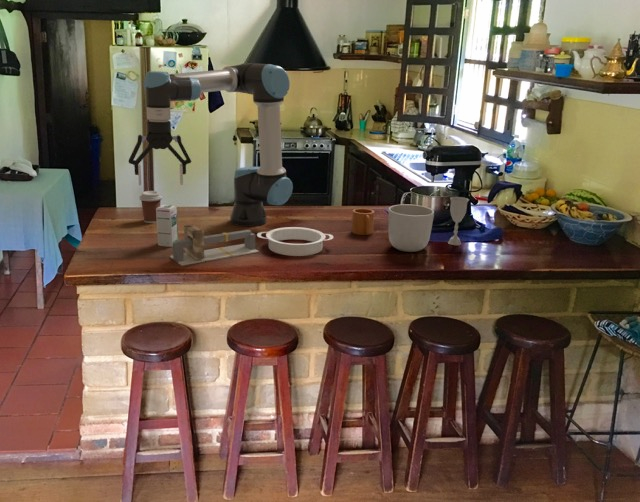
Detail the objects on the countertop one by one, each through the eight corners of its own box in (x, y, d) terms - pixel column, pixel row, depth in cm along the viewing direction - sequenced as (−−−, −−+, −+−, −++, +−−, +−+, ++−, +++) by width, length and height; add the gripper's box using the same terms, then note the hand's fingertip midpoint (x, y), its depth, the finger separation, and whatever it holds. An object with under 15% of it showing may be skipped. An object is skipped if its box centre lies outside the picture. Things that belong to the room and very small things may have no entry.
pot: (254, 256, 231) (254, 243, 230) (259, 237, 252) (259, 225, 251) (334, 258, 232) (334, 246, 230) (332, 240, 253) (332, 228, 252)
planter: (439, 250, 245) (443, 211, 240) (409, 258, 234) (413, 218, 229) (406, 239, 257) (409, 202, 252) (376, 246, 246) (379, 208, 241)
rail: (245, 244, 242) (245, 226, 240) (258, 252, 234) (259, 233, 232) (170, 257, 226) (169, 237, 223) (181, 265, 218) (180, 245, 216)
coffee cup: (161, 217, 273) (159, 189, 269) (165, 223, 265) (164, 194, 261) (138, 218, 269) (137, 190, 266) (142, 224, 262) (141, 196, 258)
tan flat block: (192, 250, 230) (192, 224, 227) (204, 258, 222) (203, 231, 219) (184, 251, 228) (184, 225, 225) (196, 259, 221) (195, 232, 218)
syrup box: (172, 247, 236) (170, 209, 231) (157, 245, 237) (155, 207, 233) (178, 242, 241) (177, 205, 237) (164, 241, 242) (162, 203, 238)
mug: (353, 237, 256) (354, 215, 254) (350, 229, 268) (351, 208, 265) (375, 237, 257) (376, 215, 254) (372, 229, 268) (373, 208, 265)
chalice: (465, 242, 255) (470, 198, 250) (461, 247, 249) (466, 202, 244) (447, 239, 258) (452, 195, 252) (443, 244, 252) (447, 199, 247)
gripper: (118, 121, 204) (122, 187, 210) (198, 122, 211) (199, 185, 217) (119, 118, 211) (122, 182, 217) (196, 119, 217) (197, 181, 224)
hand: (160, 184), depth 217 cm, fingers open, 13 cm apart
